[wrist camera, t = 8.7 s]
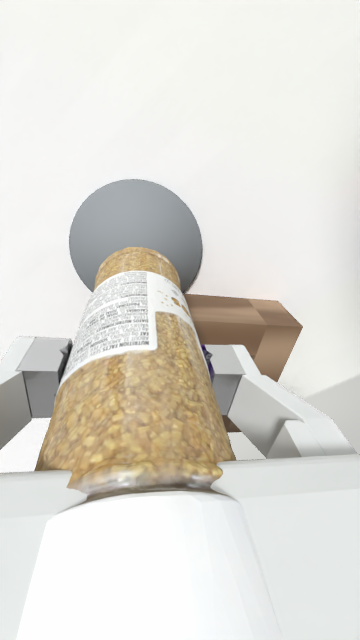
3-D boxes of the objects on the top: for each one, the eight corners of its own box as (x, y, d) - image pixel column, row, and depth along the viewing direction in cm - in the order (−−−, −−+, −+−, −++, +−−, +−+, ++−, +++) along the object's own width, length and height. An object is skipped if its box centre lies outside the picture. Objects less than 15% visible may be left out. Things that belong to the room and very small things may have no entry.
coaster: (65, 167, 15) (64, 167, 15) (212, 191, 17) (214, 191, 17) (74, 303, 20) (73, 305, 20) (189, 310, 22) (190, 313, 21)
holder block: (135, 290, 20) (135, 317, 17) (277, 301, 22) (302, 326, 19) (127, 399, 26) (126, 435, 23) (240, 399, 28) (254, 431, 25)
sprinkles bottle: (188, 307, 15) (332, 719, 4) (115, 330, 16) (57, 792, 4) (165, 230, 13) (363, 732, 2) (78, 259, 13) (-293, 904, 2)
